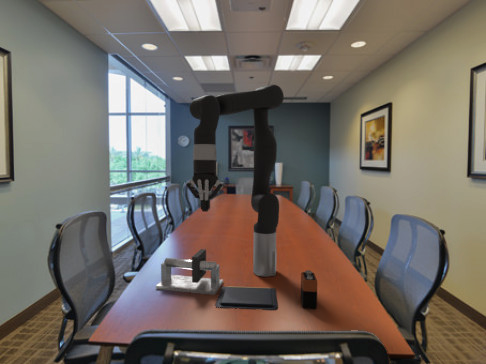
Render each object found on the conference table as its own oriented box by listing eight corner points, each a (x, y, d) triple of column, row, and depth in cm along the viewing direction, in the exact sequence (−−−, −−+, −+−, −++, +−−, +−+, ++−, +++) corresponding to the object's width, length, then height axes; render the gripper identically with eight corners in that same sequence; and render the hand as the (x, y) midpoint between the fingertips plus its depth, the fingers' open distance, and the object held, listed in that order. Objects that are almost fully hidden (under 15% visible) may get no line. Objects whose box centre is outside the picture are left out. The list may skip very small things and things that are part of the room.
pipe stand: (223, 282, 104) (223, 257, 103) (215, 295, 94) (215, 267, 93) (169, 277, 108) (168, 252, 107) (155, 288, 98) (155, 261, 98)
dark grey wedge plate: (206, 272, 104) (206, 249, 104) (197, 282, 96) (197, 257, 95) (201, 272, 105) (201, 249, 104) (192, 282, 96) (191, 257, 95)
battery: (313, 298, 92) (314, 269, 91) (317, 309, 85) (317, 278, 84) (300, 298, 92) (301, 269, 92) (302, 308, 86) (303, 277, 85)
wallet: (213, 303, 86) (222, 282, 101) (213, 309, 86) (222, 287, 101) (278, 307, 84) (277, 285, 99) (278, 313, 84) (277, 290, 99)
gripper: (227, 159, 93) (227, 210, 94) (190, 158, 95) (190, 208, 97) (221, 158, 85) (221, 214, 87) (181, 158, 88) (181, 212, 89)
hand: (205, 211), depth 92 cm, fingers closed
